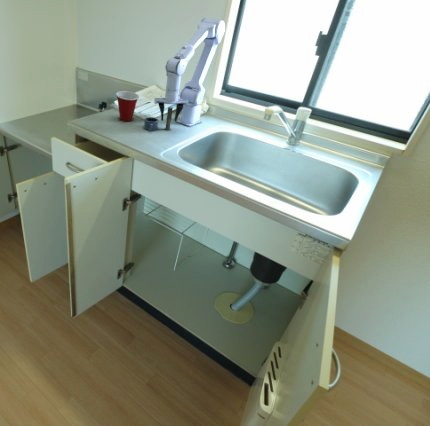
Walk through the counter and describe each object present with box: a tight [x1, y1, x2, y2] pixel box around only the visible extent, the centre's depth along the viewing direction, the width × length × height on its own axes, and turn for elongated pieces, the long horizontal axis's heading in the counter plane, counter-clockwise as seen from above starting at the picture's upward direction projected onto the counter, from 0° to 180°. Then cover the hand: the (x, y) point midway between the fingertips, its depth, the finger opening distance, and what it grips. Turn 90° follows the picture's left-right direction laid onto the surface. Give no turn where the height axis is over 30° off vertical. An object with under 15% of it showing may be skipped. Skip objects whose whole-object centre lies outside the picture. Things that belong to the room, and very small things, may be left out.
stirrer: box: [165, 106, 174, 131], centre depth 147 cm, size 2×2×10 cm
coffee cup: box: [143, 116, 159, 132], centre depth 148 cm, size 9×6×4 cm
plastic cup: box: [115, 90, 140, 122], centre depth 154 cm, size 11×11×12 cm
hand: (168, 120), depth 147 cm, fingers open, 5 cm apart
